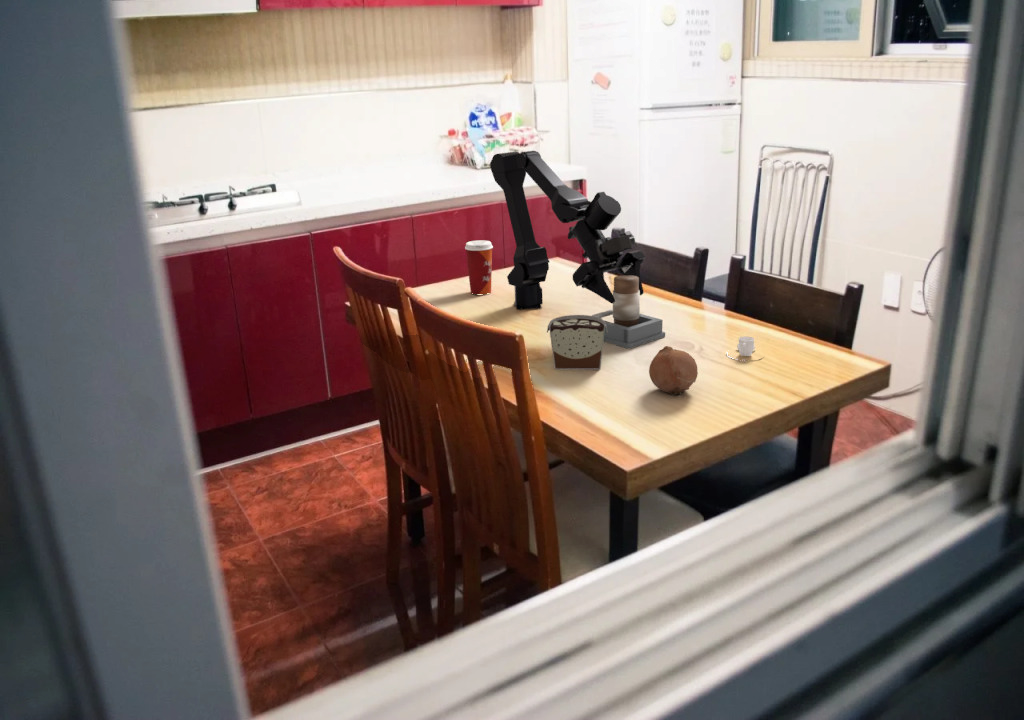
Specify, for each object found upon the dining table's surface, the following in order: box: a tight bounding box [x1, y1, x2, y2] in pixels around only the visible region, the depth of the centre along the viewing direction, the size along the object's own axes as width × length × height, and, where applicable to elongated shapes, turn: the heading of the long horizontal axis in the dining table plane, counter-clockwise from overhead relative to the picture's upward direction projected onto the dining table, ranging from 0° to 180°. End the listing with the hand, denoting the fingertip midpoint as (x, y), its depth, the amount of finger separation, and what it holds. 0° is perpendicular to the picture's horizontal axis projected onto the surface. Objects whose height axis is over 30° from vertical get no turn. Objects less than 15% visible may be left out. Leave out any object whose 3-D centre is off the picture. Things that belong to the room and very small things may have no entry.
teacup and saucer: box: [725, 336, 756, 362], centre depth 175 cm, size 9×8×4 cm
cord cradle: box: [591, 308, 666, 350], centre depth 188 cm, size 12×12×5 cm
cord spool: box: [612, 274, 641, 327], centre depth 187 cm, size 6×6×12 cm
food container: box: [546, 314, 608, 371], centre depth 172 cm, size 12×6×10 cm, turn 84°
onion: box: [648, 345, 699, 395], centre depth 157 cm, size 9×9×10 cm
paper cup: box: [464, 239, 494, 294], centre depth 227 cm, size 8×8×14 cm
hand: (628, 298), depth 186 cm, fingers open, 9 cm apart
